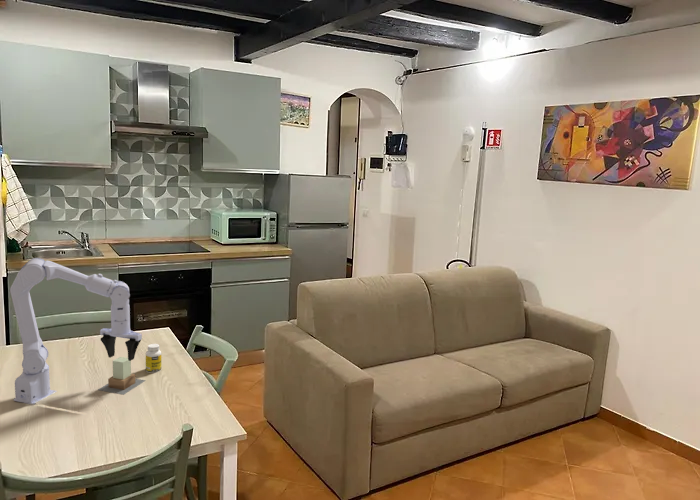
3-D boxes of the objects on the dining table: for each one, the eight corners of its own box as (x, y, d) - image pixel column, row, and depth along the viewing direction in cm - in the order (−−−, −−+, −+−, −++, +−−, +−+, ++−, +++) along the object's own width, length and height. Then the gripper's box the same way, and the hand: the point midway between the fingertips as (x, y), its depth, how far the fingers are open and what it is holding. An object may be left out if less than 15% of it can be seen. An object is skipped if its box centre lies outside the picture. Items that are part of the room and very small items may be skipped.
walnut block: (124, 389, 181) (123, 381, 180) (108, 387, 182) (108, 378, 182) (135, 382, 187) (135, 374, 186) (120, 380, 188) (119, 372, 188)
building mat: (123, 396, 178) (123, 394, 178) (97, 391, 180) (97, 389, 180) (145, 382, 189) (145, 380, 189) (120, 377, 192) (120, 376, 192)
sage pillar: (123, 379, 182) (123, 362, 181) (113, 377, 183) (112, 360, 182) (131, 375, 186) (130, 358, 185) (120, 373, 187) (120, 356, 186)
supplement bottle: (151, 375, 195) (151, 349, 193) (142, 371, 198) (142, 345, 196) (164, 371, 199) (164, 345, 197) (155, 367, 202) (155, 341, 201)
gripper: (147, 318, 183) (147, 356, 185) (109, 313, 186) (110, 351, 188) (133, 324, 176) (134, 364, 178) (95, 318, 179) (96, 358, 182)
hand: (121, 358), depth 183 cm, fingers open, 7 cm apart
